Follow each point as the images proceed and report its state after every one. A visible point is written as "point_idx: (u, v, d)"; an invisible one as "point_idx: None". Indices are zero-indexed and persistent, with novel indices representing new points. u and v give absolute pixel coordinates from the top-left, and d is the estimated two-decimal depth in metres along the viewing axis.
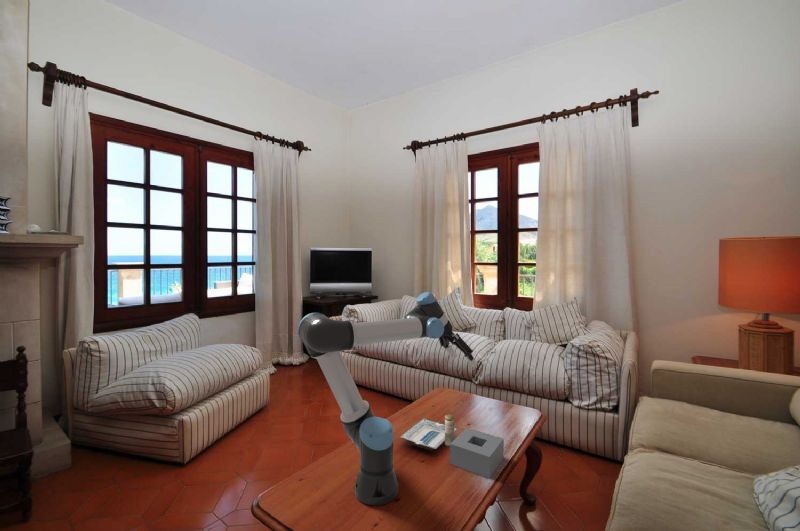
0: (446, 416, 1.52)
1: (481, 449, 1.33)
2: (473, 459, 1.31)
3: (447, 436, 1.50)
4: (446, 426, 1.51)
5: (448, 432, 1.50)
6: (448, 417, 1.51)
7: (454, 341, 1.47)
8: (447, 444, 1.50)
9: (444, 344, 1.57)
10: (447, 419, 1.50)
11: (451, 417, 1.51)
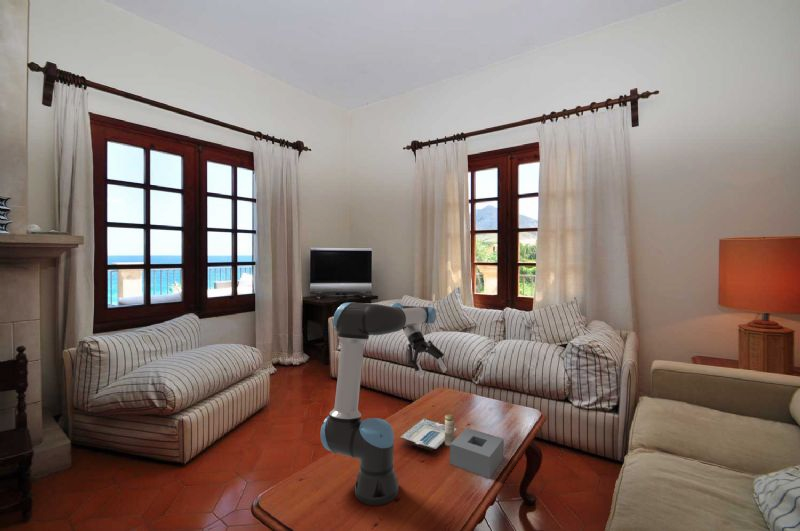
0: (446, 416, 1.52)
1: (481, 449, 1.33)
2: (473, 459, 1.31)
3: (447, 436, 1.50)
4: (446, 426, 1.51)
5: (448, 432, 1.50)
6: (448, 417, 1.51)
7: None
8: (447, 444, 1.50)
9: (416, 356, 1.61)
10: (447, 419, 1.50)
11: (451, 417, 1.51)
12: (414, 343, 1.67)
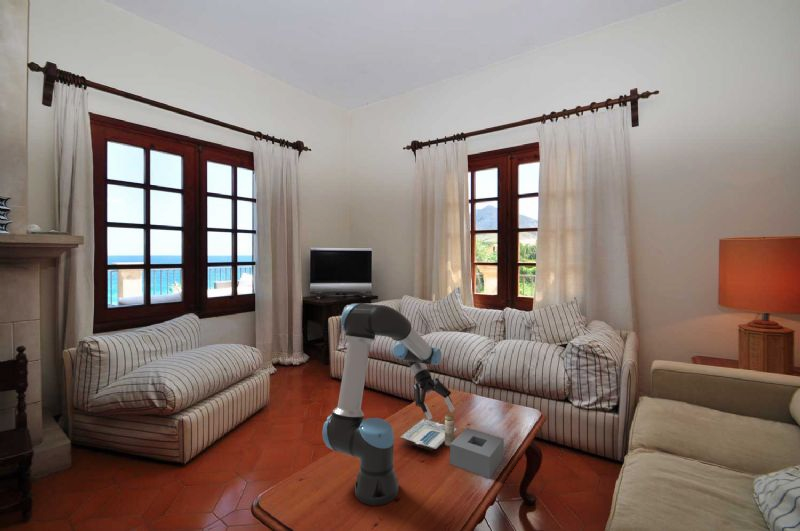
0: (446, 416, 1.52)
1: (481, 449, 1.33)
2: (473, 459, 1.31)
3: (447, 436, 1.50)
4: (446, 426, 1.51)
5: (448, 432, 1.50)
6: (448, 417, 1.51)
7: None
8: (447, 444, 1.50)
9: (423, 397, 1.58)
10: (447, 419, 1.50)
11: (451, 417, 1.51)
12: (421, 382, 1.64)
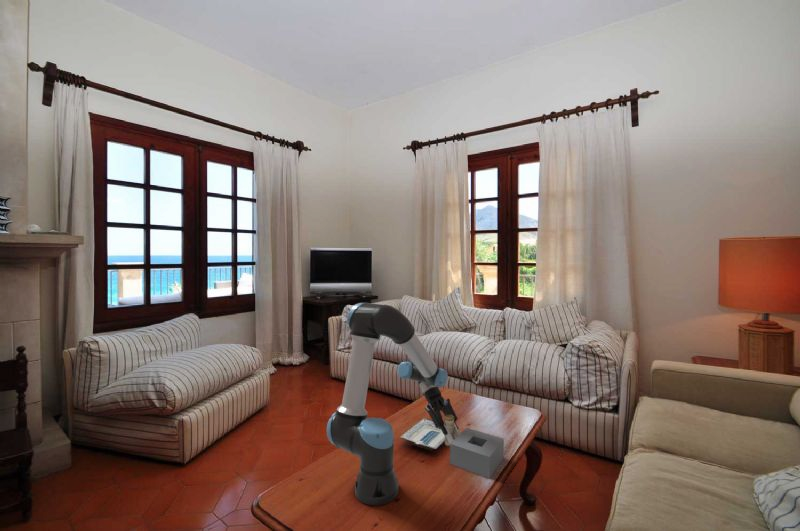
0: (446, 416, 1.52)
1: (481, 449, 1.33)
2: (473, 459, 1.31)
3: None
4: None
5: None
6: (448, 417, 1.51)
7: None
8: (447, 444, 1.50)
9: (441, 418, 1.52)
10: (447, 419, 1.50)
11: (451, 417, 1.51)
12: (430, 400, 1.57)
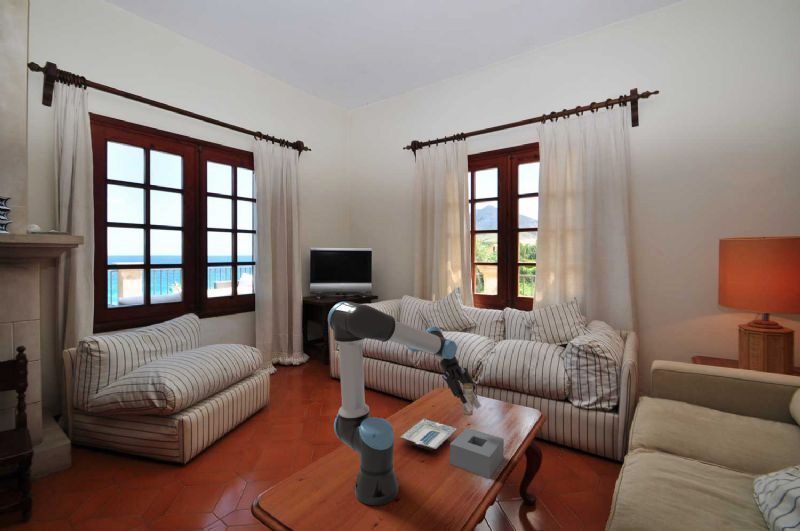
0: (465, 384, 1.44)
1: (481, 449, 1.33)
2: (473, 459, 1.31)
3: None
4: None
5: None
6: (467, 385, 1.43)
7: None
8: (466, 413, 1.43)
9: (459, 386, 1.44)
10: (466, 387, 1.43)
11: (470, 385, 1.43)
12: (448, 369, 1.49)
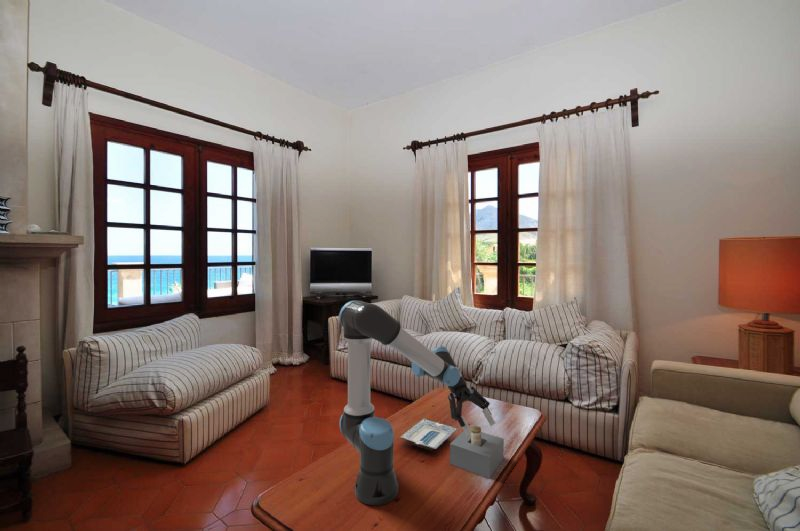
0: (472, 428, 1.39)
1: (481, 449, 1.33)
2: (473, 459, 1.31)
3: None
4: (473, 439, 1.38)
5: None
6: (474, 429, 1.38)
7: None
8: None
9: (460, 408, 1.38)
10: (474, 431, 1.37)
11: (478, 429, 1.38)
12: (456, 391, 1.44)
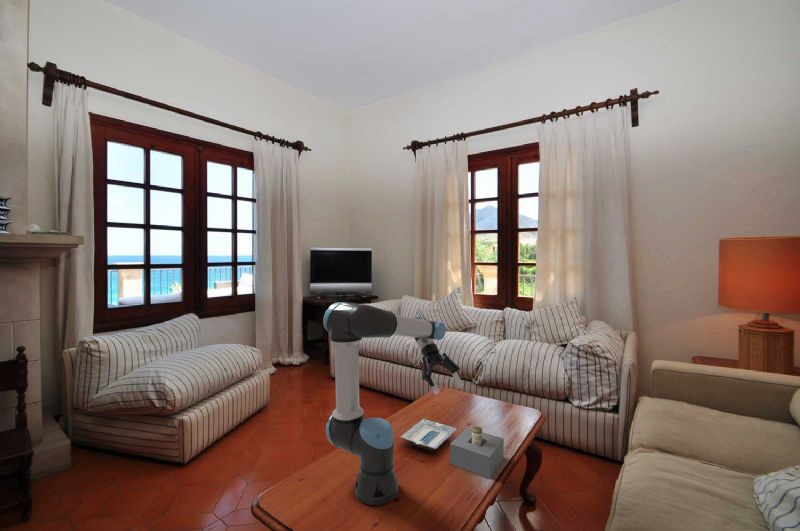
0: (473, 428, 1.39)
1: (481, 449, 1.33)
2: (473, 459, 1.31)
3: None
4: (474, 439, 1.38)
5: None
6: (476, 429, 1.38)
7: None
8: None
9: (430, 371, 1.50)
10: (475, 432, 1.37)
11: (479, 429, 1.38)
12: (428, 356, 1.55)
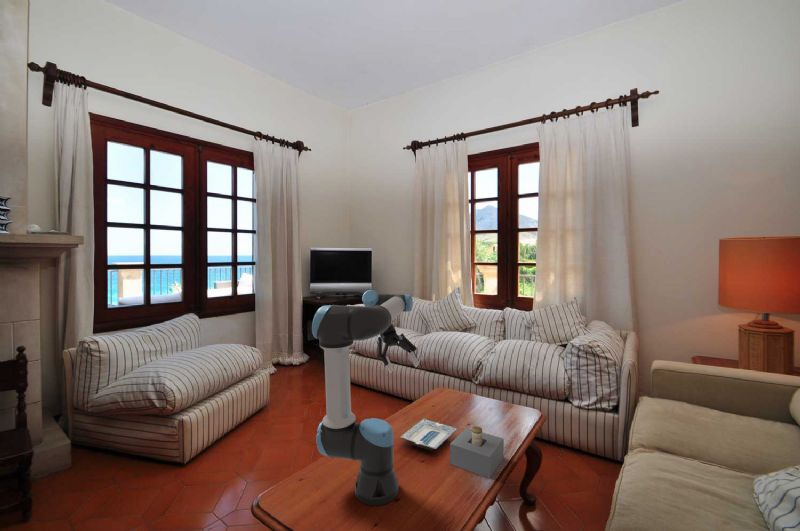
0: (473, 428, 1.39)
1: (481, 449, 1.33)
2: (473, 459, 1.31)
3: None
4: (474, 439, 1.38)
5: None
6: (476, 429, 1.38)
7: None
8: None
9: (385, 350, 1.51)
10: (475, 432, 1.37)
11: (479, 429, 1.38)
12: (385, 336, 1.56)
